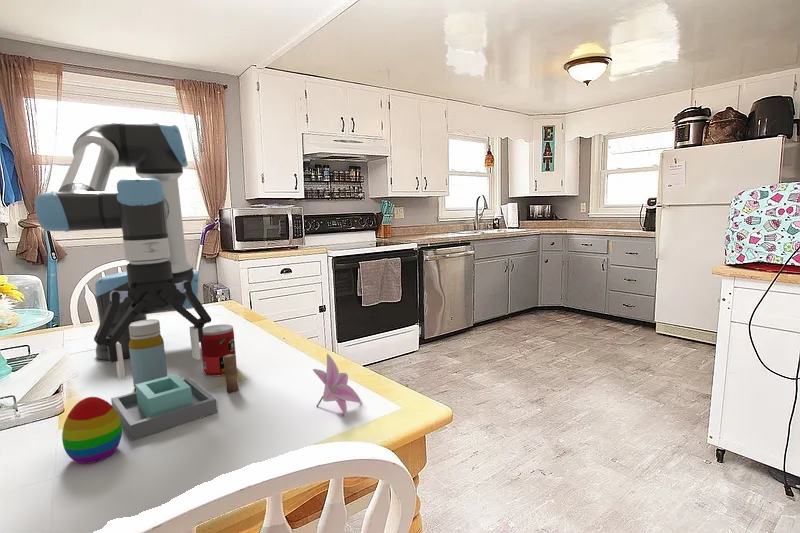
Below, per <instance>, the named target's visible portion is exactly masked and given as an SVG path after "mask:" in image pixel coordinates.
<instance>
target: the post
mask: <svg viewBox="0 0 800 533" xmlns="http://www.w3.org/2000/svg"><path fill="white" fill-rule="evenodd" d="M224 367H225V376H224V377H225V386H226V393H227V392H228V394H234V393H237V392H239V390H240V389H239V378H238V377H239V376H238V366H237V355H235V354H229V355H226V356H224ZM233 392H234V393H233Z"/></svg>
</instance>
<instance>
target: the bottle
mask: <svg viewBox="0 0 800 533" xmlns="http://www.w3.org/2000/svg"><path fill="white" fill-rule="evenodd" d="M129 334H130V338H131V339H130V342H129V352H130V366H131V367H130V368H131V375H132V382H133V387H134V388H135V389H136V386H135V384H139V383H143V382H147V381H151V380H155V379H158V378H162V377H166V376H168V367H167V360H166V350H165V342H164V338H163V337H162V334H161V324H160V320H159V319H153V318H152V319H149V318H148V319H147V320H141V321H136V322H133V323H131V324H130V325H129Z"/></svg>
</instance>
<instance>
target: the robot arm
mask: <svg viewBox="0 0 800 533" xmlns="http://www.w3.org/2000/svg"><path fill="white" fill-rule="evenodd" d="M72 155H73V159H72V161H71V163H70V164H69V168H68V169H67V172H66V174H65V176H64V179H63V180H62V182H61V185H60V188H59V189H58V191H49V192H41V193H38V195H36V198H35V201H34V202H35V203H34V208H35V209H34V210H35V215H36V219H37V222H38V224H39V226H40V227H41V229H43V230H44V231H47V232H65V233H68V232H74V231H77V232H79V231H80V232H81V231H93V230H116V229H117V230H118V229H121V230H122V231H121V233H122V242H123V251H124V260H125V261H126V262H129V263H127V265H125V266H126V271H122V272H117V273H113V274H108V275H104V276H102V277H100V278H98V279H97V280H96V281H95V283H94V290H95V291H94V292H95V294H94V296H95V300H96V307H97V312H98V321H99V325H98V328H97V330H96V333H95V335H94V337H93V342H95V343H96V347H95V356H96V359H98V360H101V361H102V360H103V361H110V363H115V365H116V371H117V372H116V373H117V377H118V378H119V379H120V380H124V379H125V380H126V372H125V365H124V364H125V363H124V360H125V359H129V358H130V352H129V342H130V339H131V338H130V334H129V325H130V324H131V323H133V322H136V321H141V320H148V318H147V315H151V314H159V313H161V314H162V313H168V312H177V313H178V314H179V315H181V317H183V318H185V319H186V320H187V321H188V322H189V323H191V325H192V326H189V328H188V329H189V337H190V344H191V347H190V348H191V356H192V358H194V359H195V360H197V361H198V360H201V359H202V356H201V346H200V343H201V342H203V329H202V328H204V327H205V325H206V324H208V323H211V322H212V317H211V316H210V315H209V313H208V312H207V310H206V309H205V308H204V306H203V305H202V303H201V302H200V300H199V298H198V296H199V277H200V275H199V274H200V272H199V270H197V269H194V268H193V264H192V263H191V262H190V261H189V260H187V253H186V244H185V243H186V242H185V233H184V224H183V217H182V216H183V215H182V207H181V206H182V205H181V197H180V188H179V178H180V177H181V176H182V175H183V174H184V169H183V168H186V167H188V159H187V155H186V150H185V147H184V142H183V138H182V134H181V131H180V129H179V127H178V126H177V125H176V124H174V123H168V122H160V121H157V122H155V121H154V122H153V121H152V122H150V121H149V122H148V121H146V122H145V121H120V120H112V121H107V122H102V123H99V124H97V125H94V126H92V127H91V128H89V129H87V130H85V131H84V132H83V133H81V134H80V135H79V136H78V137H77V138H76V140H75V142H74V143H73V147H72ZM116 167H133V168H135V174H136V175H137V176H139V177H140V178H122V179H119V180H118V181H117V183H116V190H115V191H106V187H107V184H108V180H109V177H110V174H111V170H114V169H115V168H116ZM191 309H193V310H194V311H195V313H196V314H197V315H198V316H199V318H197V317H196V316H195V315H194V314H192V313H191V312H190V311H188V310H191Z"/></svg>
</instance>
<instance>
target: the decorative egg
mask: <svg viewBox="0 0 800 533" xmlns="http://www.w3.org/2000/svg"><path fill="white" fill-rule="evenodd" d="M61 433H62V435H61V440H62V445H63V449H64V452H66V454H67V456H68V457H69V458H70V459H72V460H73V461H74V462H75V463H78V464H92V463H95V462H98V461H101V460H102V461H103V459H106V458H108V457H110V456H111V455H112V454H113V453H114V452H115V451H116V450H117V448H118V447H119V445H120V443H121V439H122V435H123V434H122V433H123V426H122V424H121V420H120V417H119V415H118V413H117V411H116V410H115V409H114V407H113V406H112V403H110V402H108V401H107V400H105V399H103V398H100V397H97V396H89V397H88V396H87V397H85V398H83V399H81V400H79V401H78V402H77V403H76V404H75V405H74V406H73V407H72V408H71V410H70V411H69V413H68V415H67V416H66V418H65V421H64V423H63V428H62V432H61Z"/></svg>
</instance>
